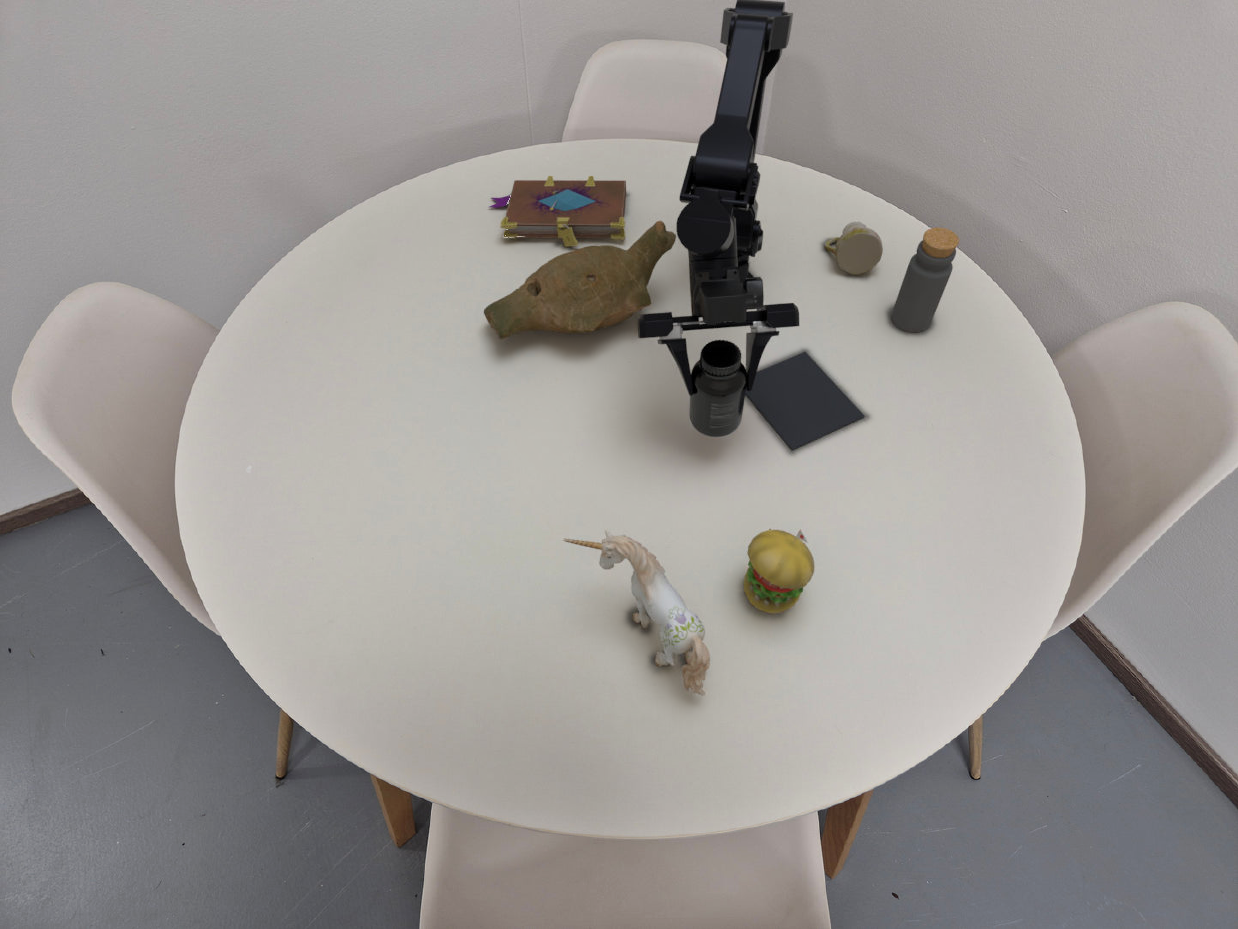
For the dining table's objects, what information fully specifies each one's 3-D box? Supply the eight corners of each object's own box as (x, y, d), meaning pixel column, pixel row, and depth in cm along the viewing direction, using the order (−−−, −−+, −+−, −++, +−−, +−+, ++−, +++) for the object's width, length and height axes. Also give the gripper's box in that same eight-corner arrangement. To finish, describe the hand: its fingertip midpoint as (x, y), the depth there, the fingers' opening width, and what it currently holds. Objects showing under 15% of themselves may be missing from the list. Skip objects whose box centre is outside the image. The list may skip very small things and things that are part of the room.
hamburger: (726, 585, 91) (736, 533, 81) (770, 552, 93) (785, 498, 84) (772, 633, 87) (787, 585, 78) (817, 597, 90) (837, 546, 80)
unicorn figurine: (614, 556, 94) (610, 497, 83) (739, 661, 86) (752, 610, 75) (572, 595, 91) (562, 539, 80) (697, 707, 83) (704, 661, 72)
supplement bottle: (748, 407, 100) (759, 343, 90) (730, 446, 96) (739, 383, 86) (699, 391, 102) (704, 326, 92) (680, 428, 98) (683, 365, 88)
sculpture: (481, 313, 106) (653, 183, 106) (478, 311, 121) (629, 198, 122) (541, 392, 109) (706, 266, 110) (531, 380, 124) (677, 270, 125)
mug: (871, 236, 128) (898, 210, 118) (857, 290, 127) (883, 268, 117) (829, 223, 127) (853, 195, 118) (815, 276, 126) (838, 253, 116)
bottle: (927, 306, 117) (960, 225, 105) (933, 333, 114) (967, 252, 102) (888, 305, 118) (916, 223, 106) (893, 332, 115) (922, 250, 102)
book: (493, 195, 139) (488, 170, 135) (628, 196, 138) (628, 170, 134) (478, 249, 129) (472, 223, 125) (624, 250, 127) (624, 224, 124)
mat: (735, 382, 110) (735, 380, 110) (804, 352, 113) (805, 351, 112) (791, 450, 102) (792, 449, 102) (864, 417, 105) (864, 415, 105)
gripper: (637, 261, 82) (647, 405, 85) (810, 248, 82) (814, 392, 85) (633, 269, 93) (641, 397, 96) (785, 257, 93) (789, 385, 96)
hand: (719, 393), depth 93 cm, fingers closed on supplement bottle, 7 cm apart
